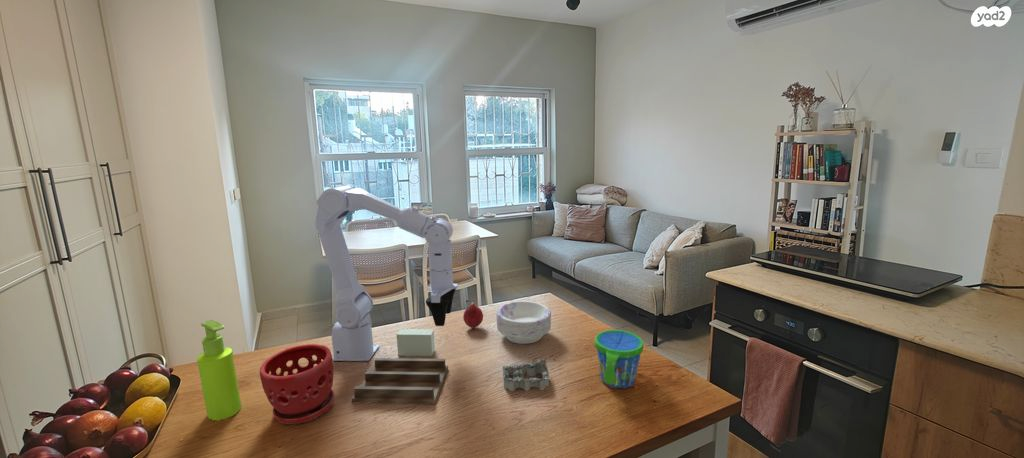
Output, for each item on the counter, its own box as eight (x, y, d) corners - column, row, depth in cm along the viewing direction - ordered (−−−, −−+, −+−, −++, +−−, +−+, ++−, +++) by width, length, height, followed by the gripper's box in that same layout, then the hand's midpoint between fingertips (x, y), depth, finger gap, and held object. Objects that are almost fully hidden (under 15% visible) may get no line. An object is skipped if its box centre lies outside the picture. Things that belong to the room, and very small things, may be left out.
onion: (482, 332, 123) (481, 306, 121) (462, 332, 123) (461, 306, 121) (484, 324, 129) (483, 299, 127) (465, 324, 129) (464, 299, 127)
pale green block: (398, 355, 111) (396, 334, 110) (401, 350, 114) (400, 329, 112) (432, 356, 110) (430, 334, 109) (434, 350, 113) (433, 329, 112)
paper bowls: (553, 349, 113) (553, 321, 111) (495, 349, 113) (494, 322, 111) (548, 324, 127) (548, 299, 126) (498, 325, 128) (497, 300, 126)
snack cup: (629, 406, 88) (631, 361, 86) (582, 390, 94) (582, 348, 92) (650, 371, 101) (652, 332, 99) (607, 360, 107) (608, 322, 105)
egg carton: (547, 373, 101) (547, 358, 101) (550, 392, 94) (550, 375, 93) (502, 374, 101) (502, 358, 101) (502, 392, 94) (501, 375, 93)
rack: (351, 402, 91) (350, 390, 90) (375, 368, 105) (374, 357, 104) (434, 404, 90) (434, 391, 89) (448, 369, 104) (447, 357, 103)
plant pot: (289, 392, 95) (282, 343, 93) (347, 392, 95) (342, 343, 92) (252, 431, 82) (243, 375, 80) (319, 432, 82) (312, 375, 79)
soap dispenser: (218, 426, 84) (201, 332, 80) (202, 414, 88) (185, 324, 84) (249, 410, 89) (235, 320, 85) (232, 400, 93) (218, 314, 88)
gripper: (451, 277, 99) (453, 331, 102) (461, 260, 113) (463, 308, 116) (421, 277, 99) (424, 331, 102) (435, 259, 113) (437, 307, 116)
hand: (443, 319), depth 109 cm, fingers open, 7 cm apart
